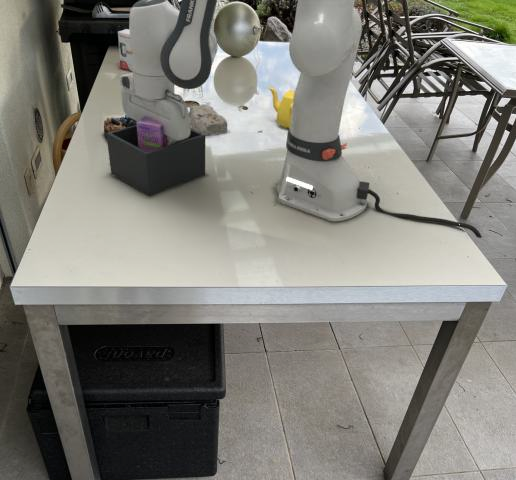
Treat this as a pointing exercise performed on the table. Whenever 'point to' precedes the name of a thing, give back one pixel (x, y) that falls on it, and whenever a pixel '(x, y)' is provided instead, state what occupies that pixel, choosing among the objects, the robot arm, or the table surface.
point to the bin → (155, 161)
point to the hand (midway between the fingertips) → (157, 146)
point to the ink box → (125, 50)
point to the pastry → (117, 124)
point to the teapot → (283, 107)
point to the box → (150, 134)
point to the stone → (206, 120)
